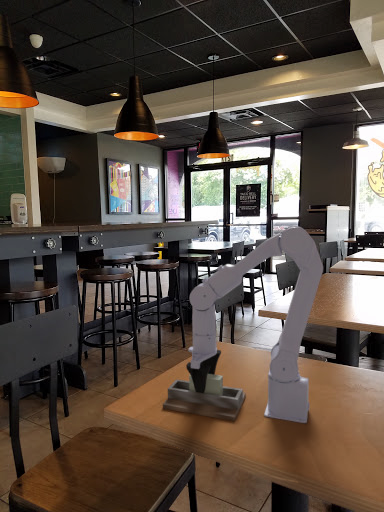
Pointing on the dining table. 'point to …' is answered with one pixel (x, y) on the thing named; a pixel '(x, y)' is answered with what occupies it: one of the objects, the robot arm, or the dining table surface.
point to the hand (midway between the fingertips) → (205, 385)
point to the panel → (210, 384)
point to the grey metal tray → (204, 401)
